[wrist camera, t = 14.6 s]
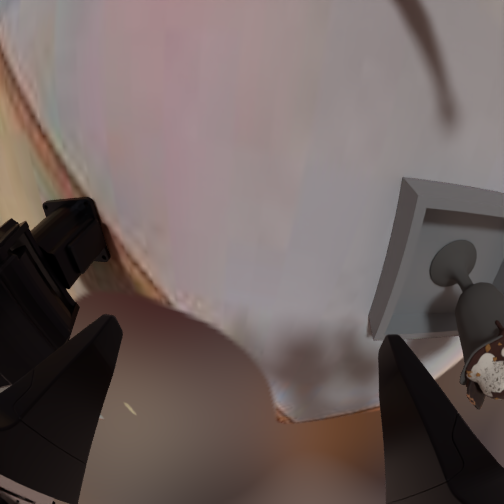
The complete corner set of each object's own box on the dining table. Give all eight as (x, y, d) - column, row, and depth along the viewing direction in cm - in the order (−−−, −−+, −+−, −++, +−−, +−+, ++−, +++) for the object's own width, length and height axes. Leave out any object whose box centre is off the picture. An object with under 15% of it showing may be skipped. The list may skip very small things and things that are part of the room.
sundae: (482, 218, 18) (581, 371, 5) (483, 276, 21) (545, 414, 8) (415, 246, 20) (485, 430, 8) (425, 301, 23) (468, 455, 11)
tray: (368, 315, 25) (373, 340, 23) (402, 177, 18) (418, 195, 15) (477, 311, 24) (487, 332, 21) (526, 198, 16) (545, 215, 14)
